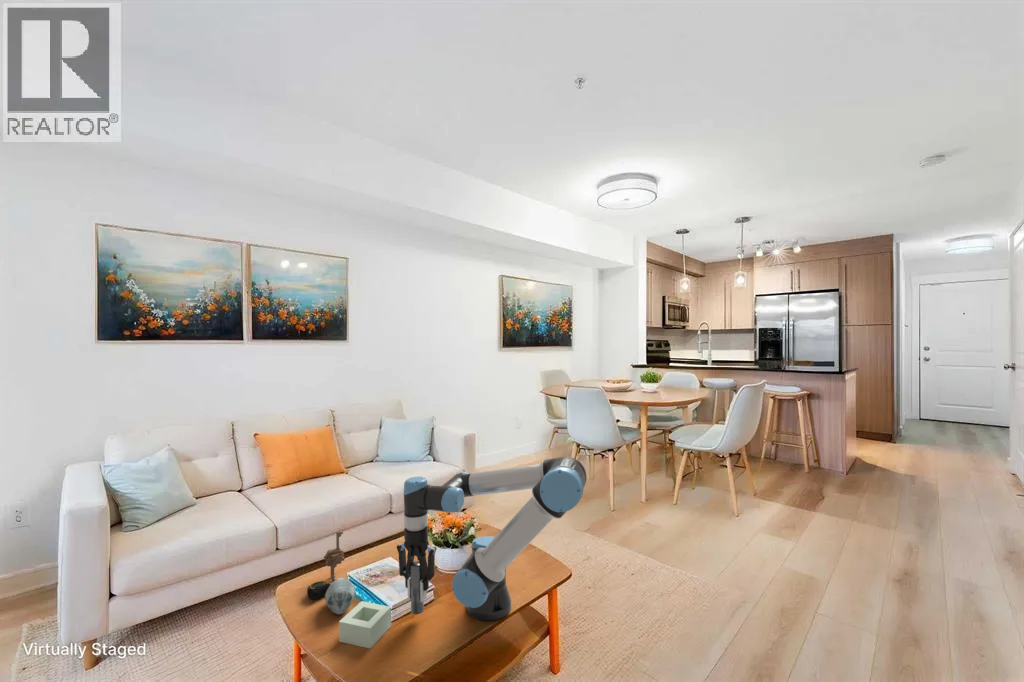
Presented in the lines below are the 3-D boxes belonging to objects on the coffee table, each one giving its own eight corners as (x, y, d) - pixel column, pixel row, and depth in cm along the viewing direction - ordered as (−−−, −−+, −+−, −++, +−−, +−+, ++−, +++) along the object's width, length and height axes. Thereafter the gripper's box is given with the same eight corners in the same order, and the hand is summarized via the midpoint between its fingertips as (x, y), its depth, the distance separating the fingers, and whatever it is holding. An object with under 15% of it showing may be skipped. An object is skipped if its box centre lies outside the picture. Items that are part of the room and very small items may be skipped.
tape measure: (314, 602, 152) (313, 591, 153) (303, 597, 156) (303, 586, 157) (332, 593, 158) (331, 583, 158) (321, 589, 162) (321, 578, 162)
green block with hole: (391, 625, 141) (391, 606, 141) (370, 648, 130) (370, 628, 130) (361, 619, 144) (361, 601, 144) (339, 641, 134) (339, 621, 134)
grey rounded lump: (355, 612, 144) (355, 578, 148) (323, 618, 141) (324, 583, 144) (354, 605, 156) (354, 574, 160) (325, 611, 153) (326, 579, 156)
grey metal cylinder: (425, 608, 145) (425, 562, 145) (419, 615, 141) (419, 568, 141) (414, 606, 146) (414, 560, 146) (408, 613, 142) (407, 566, 142)
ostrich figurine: (342, 573, 173) (342, 527, 173) (345, 581, 167) (345, 534, 167) (294, 586, 164) (293, 537, 164) (295, 595, 158) (295, 545, 158)
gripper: (445, 524, 145) (446, 596, 144) (399, 519, 150) (400, 588, 149) (434, 534, 137) (435, 609, 137) (386, 528, 142) (387, 601, 142)
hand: (417, 598), depth 143 cm, fingers closed on grey metal cylinder, 4 cm apart
